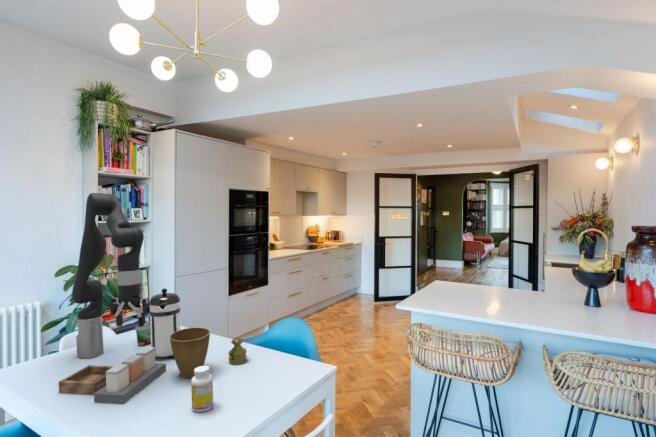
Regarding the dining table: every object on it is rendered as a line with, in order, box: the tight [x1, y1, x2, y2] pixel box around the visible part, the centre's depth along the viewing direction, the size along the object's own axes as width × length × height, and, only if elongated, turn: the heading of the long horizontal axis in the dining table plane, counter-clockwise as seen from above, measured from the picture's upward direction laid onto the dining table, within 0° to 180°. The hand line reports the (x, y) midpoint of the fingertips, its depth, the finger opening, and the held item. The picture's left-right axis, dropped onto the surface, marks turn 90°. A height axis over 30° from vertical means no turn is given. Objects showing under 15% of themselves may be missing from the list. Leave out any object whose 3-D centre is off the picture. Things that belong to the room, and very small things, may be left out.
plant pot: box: [170, 326, 211, 379], centre depth 145 cm, size 15×15×16 cm
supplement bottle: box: [190, 365, 214, 413], centre depth 120 cm, size 7×7×13 cm
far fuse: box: [135, 346, 157, 372], centre depth 145 cm, size 6×4×10 cm, turn 173°
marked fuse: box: [121, 354, 143, 382], centre depth 137 cm, size 6×4×10 cm, turn 173°
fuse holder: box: [93, 362, 167, 405], centre depth 137 cm, size 25×11×3 cm, turn 173°
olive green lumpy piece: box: [228, 336, 248, 366], centre depth 156 cm, size 7×8×10 cm
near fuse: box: [106, 363, 129, 393], centre depth 129 cm, size 6×4×10 cm, turn 173°
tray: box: [58, 364, 115, 396], centre depth 138 cm, size 14×14×4 cm
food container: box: [134, 321, 151, 347], centre depth 180 cm, size 12×6×10 cm, turn 168°
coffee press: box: [148, 288, 181, 360], centre depth 165 cm, size 17×16×30 cm
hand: (130, 326), depth 136 cm, fingers open, 8 cm apart
